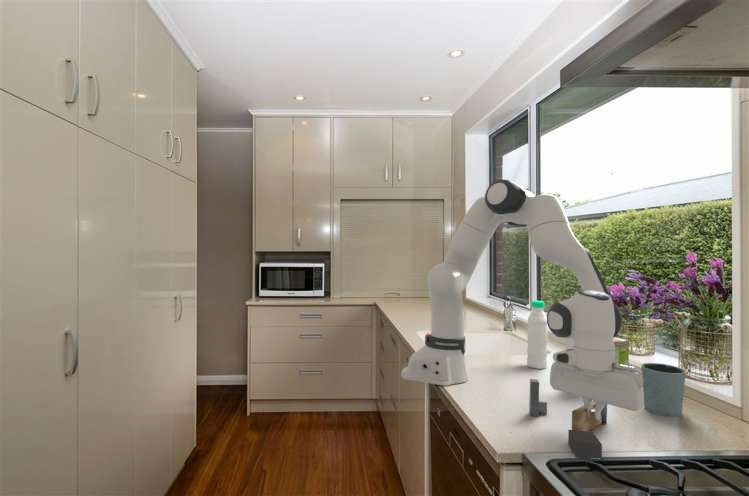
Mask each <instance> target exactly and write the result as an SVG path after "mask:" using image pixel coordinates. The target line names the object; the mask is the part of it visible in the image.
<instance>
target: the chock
mask: <svg viewBox="0 0 749 496" xmlns="http://www.w3.org/2000/svg"><path fill="white" fill-rule="evenodd" d="M567 433H568V435H567V436H568V437H567V440H568V442H567V444H568V446H569V448H570V450H571V452H572V454H573V455H574V457H575V458H577V459H578V458H579V459H585V458H601V459H602V458H603V455H602V454H603V453H602V452H603V451H602V450H603V444H602V443H601V441H600V440H599V439H598V438H597V436H596V434H595V433H594V432H592V431H588V432H587V431H577V430H572V429H568V432H567ZM602 460H603V459H602Z"/></svg>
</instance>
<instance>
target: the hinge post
mask: <svg viewBox="0 0 749 496" xmlns="http://www.w3.org/2000/svg"><path fill="white" fill-rule="evenodd" d="M607 421H608V404H606V405H605V407H604V408H603V410H602V423H601V424H600V425H607V424H608V422H607Z"/></svg>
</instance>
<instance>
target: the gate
mask: <svg viewBox="0 0 749 496" xmlns="http://www.w3.org/2000/svg"><path fill="white" fill-rule="evenodd" d="M591 404H592V407H593V409H595V410H596V409H597V407H598V406H597V405H596V402H595V400H592V401H591ZM601 423H602V411H601V418H600V419H599V420H596V419H592V418H589V417H588V416H587V409H586V407H585V405H584V404H583V405H581V406H580V407H578V408H575V409H574V410H572V411H571V430H577V431H587V432H590V431H591V430H592V429H594V428H595V427H597V426H599V425H602V424H601Z"/></svg>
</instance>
